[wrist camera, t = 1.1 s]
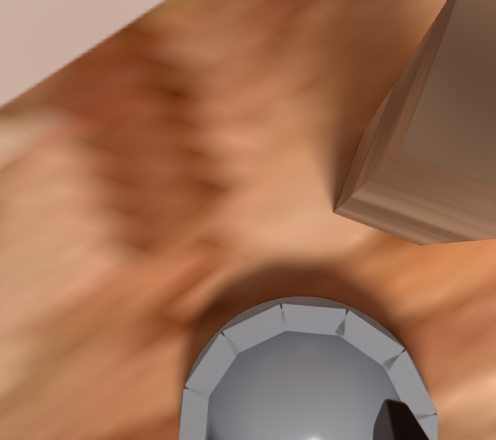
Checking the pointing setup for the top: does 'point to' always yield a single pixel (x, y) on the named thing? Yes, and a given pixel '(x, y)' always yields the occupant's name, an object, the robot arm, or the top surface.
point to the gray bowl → (300, 376)
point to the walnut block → (434, 138)
